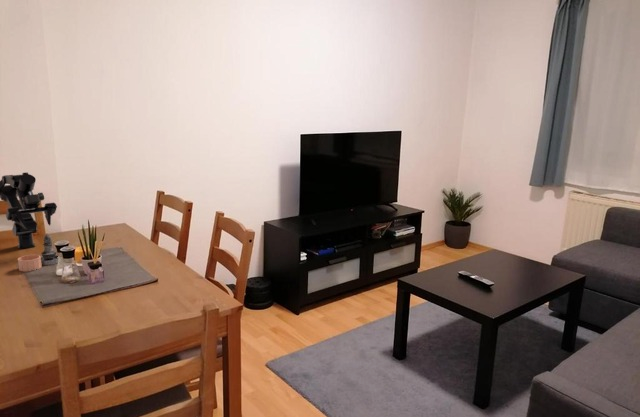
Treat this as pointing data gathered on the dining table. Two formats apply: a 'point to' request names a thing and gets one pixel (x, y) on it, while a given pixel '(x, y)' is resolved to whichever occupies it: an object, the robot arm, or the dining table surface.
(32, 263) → the pink ribbed bowl
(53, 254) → the grey chess piece
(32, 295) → the dining table surface
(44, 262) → the charcoal tray
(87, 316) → the dining table surface
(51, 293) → the dining table surface
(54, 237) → the dining table surface
